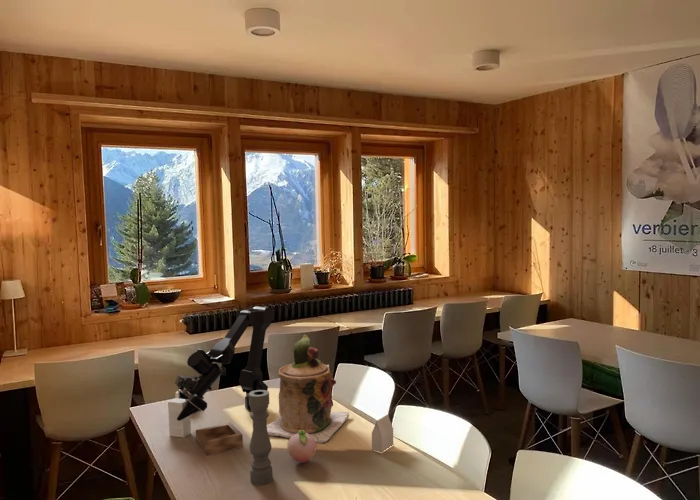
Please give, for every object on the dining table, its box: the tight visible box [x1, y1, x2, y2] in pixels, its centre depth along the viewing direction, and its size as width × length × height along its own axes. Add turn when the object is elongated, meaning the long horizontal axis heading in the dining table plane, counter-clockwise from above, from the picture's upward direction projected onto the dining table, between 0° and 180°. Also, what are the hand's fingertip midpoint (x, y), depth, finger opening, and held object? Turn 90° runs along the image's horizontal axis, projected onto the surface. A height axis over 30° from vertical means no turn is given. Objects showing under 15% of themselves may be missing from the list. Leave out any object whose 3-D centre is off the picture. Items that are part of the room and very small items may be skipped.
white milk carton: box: [371, 414, 394, 452], centre depth 171 cm, size 4×7×10 cm, turn 144°
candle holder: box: [249, 390, 274, 486], centre depth 152 cm, size 6×6×25 cm
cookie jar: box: [267, 334, 350, 444], centre depth 190 cm, size 25×25×32 cm
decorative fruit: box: [286, 430, 317, 464], centre depth 162 cm, size 9×8×10 cm
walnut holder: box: [195, 422, 244, 456], centre depth 177 cm, size 12×12×4 cm
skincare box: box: [167, 397, 192, 439], centre depth 185 cm, size 6×4×12 cm
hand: (175, 416), depth 184 cm, fingers closed on skincare box, 7 cm apart
